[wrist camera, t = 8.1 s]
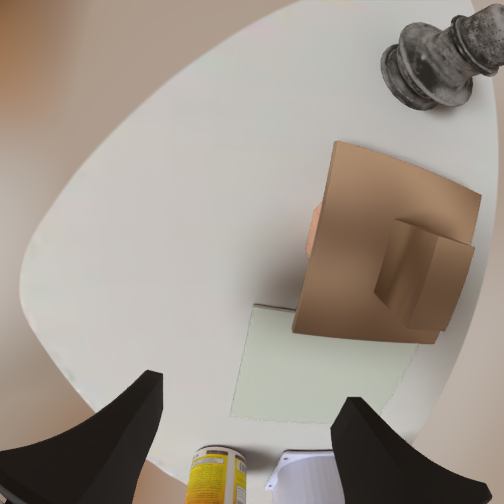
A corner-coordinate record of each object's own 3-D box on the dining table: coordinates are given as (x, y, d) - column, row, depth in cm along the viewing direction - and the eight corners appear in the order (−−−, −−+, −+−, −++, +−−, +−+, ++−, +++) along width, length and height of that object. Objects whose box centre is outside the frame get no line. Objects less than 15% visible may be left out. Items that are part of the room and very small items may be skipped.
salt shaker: (445, 63, 14) (555, 21, 2) (440, 127, 15) (575, 114, 4) (380, 28, 13) (473, -58, 2) (371, 94, 15) (500, 25, 3)
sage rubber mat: (374, 419, 22) (375, 422, 22) (230, 413, 22) (229, 416, 21) (423, 325, 19) (426, 327, 19) (253, 304, 19) (253, 306, 18)
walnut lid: (429, 339, 16) (464, 378, 11) (291, 327, 15) (303, 381, 11) (475, 194, 13) (527, 204, 9) (334, 141, 13) (370, 128, 8)
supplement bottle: (184, 457, 24) (169, 533, 14) (210, 437, 23) (198, 527, 13) (228, 474, 25) (223, 546, 15) (257, 456, 24) (258, 539, 14)
